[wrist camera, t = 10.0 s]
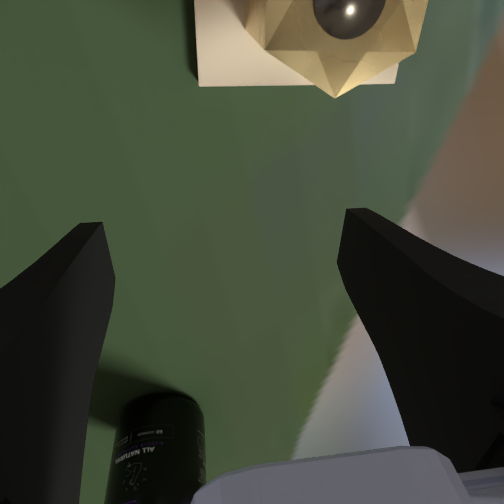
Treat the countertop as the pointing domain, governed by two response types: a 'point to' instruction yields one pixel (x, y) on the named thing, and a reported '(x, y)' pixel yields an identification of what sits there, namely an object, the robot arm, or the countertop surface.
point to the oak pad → (243, 51)
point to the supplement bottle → (157, 452)
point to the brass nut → (336, 36)
